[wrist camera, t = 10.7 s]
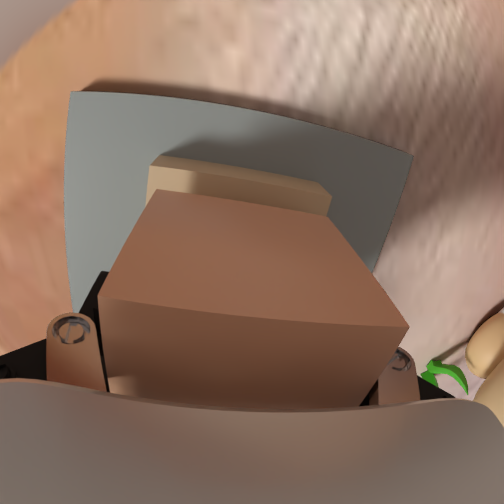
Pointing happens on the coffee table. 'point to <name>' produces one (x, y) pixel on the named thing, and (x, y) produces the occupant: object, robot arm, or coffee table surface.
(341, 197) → the post board
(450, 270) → the coffee table surface
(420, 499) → the robot arm
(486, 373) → the kitten
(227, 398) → the peach cardboard cube
